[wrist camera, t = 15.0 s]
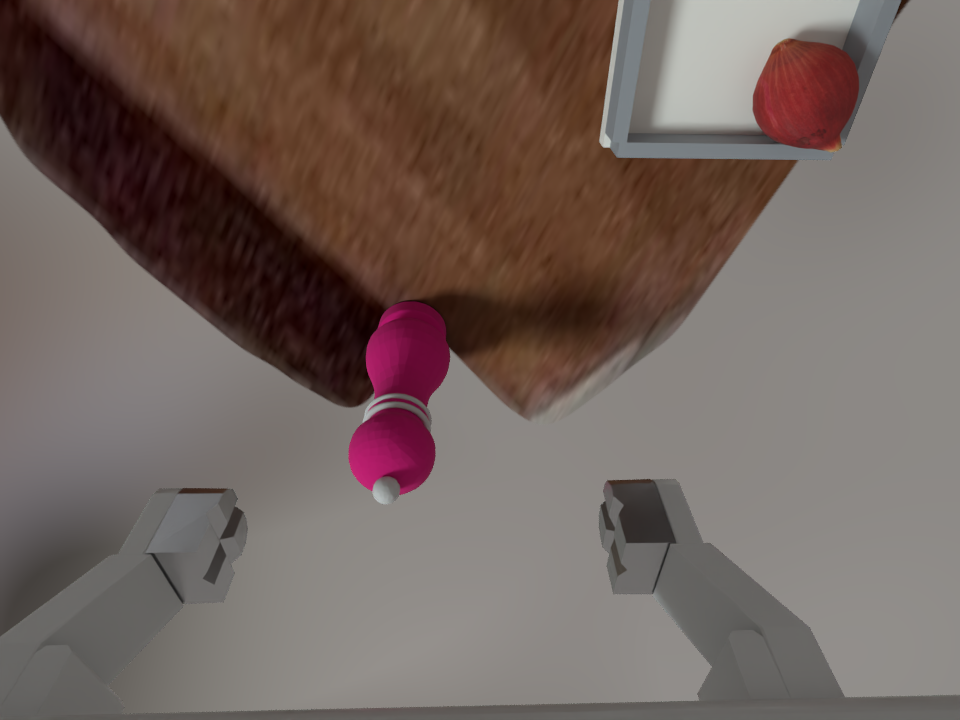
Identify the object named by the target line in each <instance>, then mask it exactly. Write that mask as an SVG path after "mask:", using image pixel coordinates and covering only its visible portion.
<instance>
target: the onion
mask: <svg viewBox="0 0 960 720" xmlns="http://www.w3.org/2000/svg"><path fill="white" fill-rule="evenodd" d="M858 93H859V76H858V73H857V70H856V66H855V63H854V62H853V60H852V59H851V58H850V56H849V55H848V54H847V52H845V51H843V50H841V49H840V48H838V47H836V46H834V45H829V44H824V43H819V42H808V41H800V40H796V39H791V38H788V39H784V40H782V41H780V42H779V43H777V44H776V45H775V47H774V48H773V49H772V51H771V54H770V56H769V58H768V60H767V62H766V64H765V66H764V68H763V71H762V73H761V75H760V77H759V79H758V81H757V84H756V87H755V90H754V94H753V108H752V111H753V114H754V117H755V120H756V122H757V124H758V126H759V127H760V128H761V130H762V131H763V132H764V133H765V134H766V135H767V136H768V137H770V138H771V139H772V140H774V141H776V142H778V143H781V144H784V145H788V146H792V147H797V148H804V149H817V150H823V151H828V152H830V153H832V152H835V151H838V150H839V149H841V148H842V143H841V137H840V133H841V131H842V130H843V128H844V127H845V125H846V124H847V122H848V120H849V119H850V117H851V115H852V113H853V110H854V108H855V105H856V102H857V98H858Z"/></svg>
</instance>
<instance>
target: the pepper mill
mask: <svg viewBox="0 0 960 720" xmlns="http://www.w3.org/2000/svg"><path fill="white" fill-rule="evenodd" d="M449 362H450V351H449V346H448V344H447V342H446V325H445V322H444V320H443V318H442V317H441V315H440V314H439V313H438V312H437V311H436V310H435V309H433V308H432V307H430V306H428V305H426V304H423V303H420V302H415V301H409V302H401V303H398V304H395V305H393V306H391V307H390V308H389V309H387V310H386V311H385V312H384V314H383V316H382V317H381V320H380V323H379V326H378V329H377V330H376V331H375V332H374V333H373V335H372V336H371V338H370V340H369V343H368V345H367V352H366V365H367V371H368V374H369V377H370V379H371V381H372V383H373V386H374V391H375V398H374V400H373V401H372V402H371V403H370V404H369V405H368V407H367V408H366V411H365V414H364V419H363V423H362V424H361V425H360V426H359V427H358V428H357V430H356V431H355V433H354V434H353V436H352V439H351V442H350V445H349V463H350V467H351V470H352V473H353V475H354V476H355V477H356V479H357V480H358V481H359V482H360V483H361V484H362V485H363V486H364V487H366V488H367V489H369V490H371V491H373V495H374V498H375V499H376V500H377V501H378V502H379V503H382V504H390V503H392V502H394V501H395V500H396V499H397V498H398V496H399V495H401V494H405V493H408V492H410V491H412V490H414V489H416V488H417V487H419V486H420V485H421V484H422V483H423V482H424V481H425V480H426V479H427V478H428V476H429V474H430V472H431V471H432V468H433V465H434V461H435V443H434V440H433V438H432V436H431V434H430V431H431V415H430V412H429V410H428V409H427V404H428V400H429V398H430V396H431V395H432V393H433V392H434V391H435V390H436V389H437V388H438V387H439V386H440V385H441V383H442V382H443V380H444V378H445V376H446V374H447V371H448V368H449Z"/></svg>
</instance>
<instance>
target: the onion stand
mask: <svg viewBox="0 0 960 720" xmlns="http://www.w3.org/2000/svg"><path fill="white" fill-rule="evenodd" d="M900 2H901V0H619V3H618V10H617V17H616V25H615V32H614V39H613V46H612V53H611V61H610V68H609V75H608V82H607V90H606V97H605V104H604V111H603V118H602V126H601V133H600V140H599V142H600V143H601V145H602V146H603V147H610V148H611V150H612V151H613V152H614V154H615V155H616V157H621V158H703V159H784V160H831V159H832V156H833V154H834V152H832V153H830V152H828V151H823V150H817V149H804V148H797V147H792V146H788V145H784V144H781V143H778V142H776V141H774V140H772V139H771V138H770V137H768V136H767V135H766V134H765V133H764V132H763V131H762V130H761V128H760V127H759V126H758V124H757V122H756V120H755V117H754V114H753V111H752V108H753V94H754V90H755V87H756V84H757V81H758V79H759V77H760V75H761V73H762V71H763V68H764V66H765V64H766V62H767V60H768V58H769V56H770V54H771V51H772V49H773V48H774V47H775V45H776V44H777V43H779V42H780V41H782V40H784V39H788V38H791V39H796V40H800V41H808V42H819V43H824V44H829V45H834V46H836V47H838V48H840V49H841V50H843V51H845V52H847V54H848V55H849V56H850V58H851V59H852V60H853V62H854V63H855V66H856V70H857V73H858V76H859V93H858V98H857V102H856V105H855V108H854V110H853V113H852V115H851V117H850V119H849V120H848V122H847V124H846V125H845V127H844V128H843V130H842V131H841V133H840V137H841V143H842V145H844V144H845V142H846V139H847V136H848V134H849V131H850V129H851V126H852V124H853V121H854V119H855V116H856V114H857V111H858V108H859V106H860V104H861V101H862V98H863V96H864V93H865V91H866V88H867V86H868V83H869V81H870V78H871V76H872V73H873V70H874V68H875V66H876V63H877V60H878V58H879V56H880V53H881V50H882V48H883V45H884V43H885V40H886V38H887V35H888V33H889V30H890V28H891V25H892V23H893V20H894V18H895V15H896V13H897V10H898V7H899V5H900Z"/></svg>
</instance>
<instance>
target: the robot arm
mask: <svg viewBox="0 0 960 720" xmlns="http://www.w3.org/2000/svg"><path fill="white" fill-rule="evenodd" d="M603 493H604V497H605V502H603V504H601V505H600V512H599V530H600V537H601V542H602V547H603V548H604V549H605V550H606V551H607V552H608V553H609V557H608V562H607V569H608V573H609V577H610V581H611V586H612V590H613V594H653V597H654V599H655V600H656V601H657V602H658V603H659V604H660V606H661V607H662V608H663V609H664V610H665V612H666V613H667V614H668V615H669V616H670V617H671V618H672V620H673V621H674V622H675V623H676V625H678V627H679V628H680V629H681V630H682V632H683V633H684V634H685V635H686V636H687V638H688V639H689V640H690V641H691V642H692V643H693V644H694V646H695V647H696V648H697V649H698V651H699V652H700V653H701V654H702V655H703V657H704V658H705V659H706V660H707V661H708V662H709V664H710V665H711V666H712V668H711V670H710V672H709V674H708V675H707V677H706V679H705V681H704V683H703V684H702V687H701V688H700V690H699V692H698V697H699V701H670V702H627V703H626V702H625V703H582V704H581V703H580V704H541V705H540V704H539V705H538V704H537V705H493V706H491V705H490V706H450V707H449V706H447V707H404V708H403V707H401V708H359V709H358V708H356V709H315V710H314V709H311V710H268V711H226V712H225V711H224V712H185V713H184V712H180V713H138V714H122V711H123V709H124V705H123V702H122V700H121V699H120V698H119V697H118V696H117V695H116V694H115V693H114V692H113V691H112V690H111V689H110V688H109V687H108V685H109V684H110V683H111V682H112V681H113V680H114V679H115V678H116V677H117V676H118V675H119V674H120V672H121V671H122V670H123V669H124V668H125V667H126V666H127V665H128V664H129V663H130V662H131V661H132V660H133V659H134V658H135V657H136V656H137V655H138V654H139V652H141V651H142V649H143V648H144V647H145V646H146V645H147V644H148V643H149V642H150V641H151V640H152V639H153V638H154V637H155V636H156V635H157V634H158V633H159V632H160V631H161V629H162V628H163V627H164V626H165V625H166V624H167V623H168V622H169V621H170V620H171V619H172V618H173V617H174V616H175V615H176V614H177V613H178V612H179V611H180V610H181V609H182V608H183V604H193V603H215V602H224V600H225V597H226V595H227V592H228V590H229V587H230V584H231V582H232V579H233V576H234V570H233V568H232V565H231V563H233V562H234V561H235V560H236V559H237V558H238V557H239V556H241V555H242V552H243V549H244V547H245V544H246V538H247V530H248V528H247V520H246V517H245V515H244V512H243V511H241V510H240V509H238V508H237V507H235V505H236V502H237V500H238V498H237V496H236V494H235V492H234V490H233V489H209V488H208V489H207V488H205V489H204V488H182V489H181V488H176V489H172V488H171V489H159V490H158V491H156V492H155V493H154V494H153V495H152V497H151V499H150V500H149V502H148V504H147V505H146V507H145V509H144V510H143V512H142V514H141V516H140V517H139V519H138V521H137V522H136V524H135V526H134V527H133V529H132V531H131V533H130V534H129V536H128V538H127V539H126V541H125V543H124V545H123V546H122V548H121V550H120V551H119V553H118V555H110V556H109V557H107V558H106V559H105V560H103V561H102V562H100V563H99V564H98V565H96V566H95V567H94V568H92V569H91V570H90V571H88V572H87V573H86V574H85V575H83V576H82V577H80V578H79V579H78V580H76V581H75V582H73V583H72V584H71V585H69V586H68V587H67V588H65V589H64V590H63V591H61V592H60V593H59V594H57V595H56V596H55V597H54V598H52V599H51V600H49V601H48V602H46V603H45V604H44V605H42V606H41V607H40V608H39V609H37V610H36V611H34V612H33V613H32V614H30V615H29V616H28V617H26V618H25V619H24V620H22V621H21V622H19V623H18V624H17V625H15V626H14V627H13V628H11V629H10V630H9V631H7V632H6V633H5V634H3V635H2V636H1V637H0V720H960V695H933V696H889V697H888V696H887V697H845V696H844V694H843V693H842V690H841V688H840V687H839V685H838V683H837V681H836V679H835V677H834V675H833V673H832V671H831V669H830V667H829V665H828V663H827V661H826V659H825V657H824V655H823V653H822V651H821V649H820V647H819V645H818V643H817V641H816V639H815V637H814V635H813V633H812V631H811V629H810V627H808V626H807V625H806V624H805V623H804V622H803V621H802V620H800V619H799V618H798V617H797V616H796V615H794V614H793V613H792V612H791V611H789V609H787V608H786V607H785V606H784V605H782V604H781V603H780V602H779V601H778V600H777V599H775V598H774V597H773V596H772V595H771V594H770V593H769V592H767V591H766V590H765V589H764V588H763V587H762V586H760V585H759V584H758V583H757V582H756V581H754V580H753V579H752V578H751V577H750V576H748V575H747V574H746V573H745V572H744V571H743V570H741V569H740V568H739V567H738V566H737V565H736V564H734V563H733V562H732V561H731V560H730V559H729V558H727V557H726V556H725V555H724V554H723V553H721V552H720V551H719V550H718V549H717V548H716V547H714V546H713V545H712V544H711V543H703V541H702V538H701V536H700V533H699V531H698V528H697V526H696V523H695V521H694V518H693V516H692V513H691V511H690V509H689V506H688V504H687V501H686V499H685V496H684V494H683V491H682V489H681V486H680V484H679V482H678V481H677V480H676V479H660V480H650V479H641V480H612V481H606V483H605V485H604V490H603Z"/></svg>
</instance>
